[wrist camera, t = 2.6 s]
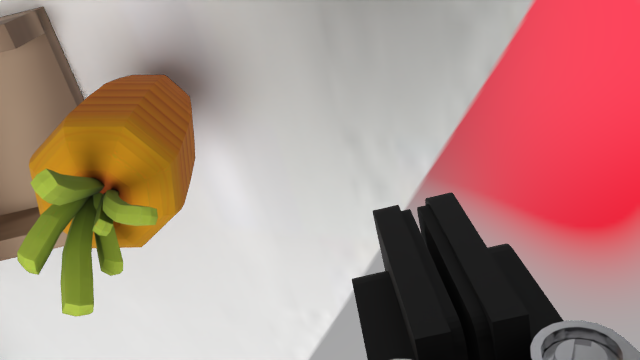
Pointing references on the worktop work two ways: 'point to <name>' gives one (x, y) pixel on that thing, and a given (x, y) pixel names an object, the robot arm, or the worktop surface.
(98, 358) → the worktop surface
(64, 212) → the carrot
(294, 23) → the worktop surface
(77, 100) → the walnut U-rest
